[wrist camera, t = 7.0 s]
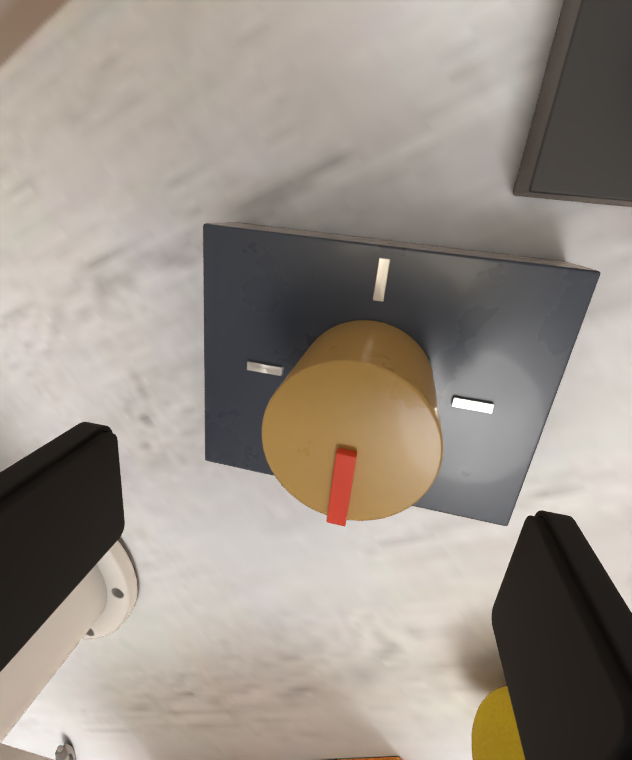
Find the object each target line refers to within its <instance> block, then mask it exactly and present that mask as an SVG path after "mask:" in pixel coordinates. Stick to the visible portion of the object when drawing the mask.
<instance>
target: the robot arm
mask: <svg viewBox="0 0 632 760" xmlns="http://www.w3.org/2000/svg"><path fill="white" fill-rule="evenodd" d="M124 524H125V521H124V510H123V498H122V487H121V475H120V464H119V452H118V441H117V437H116V435H115V434H113V433H112V430H111V429H110V427H108V426H104V425H99V424H94V423H89V422H82V423H80V424H78V425H76V426H75V427H73V428H71V429H70V430H68V431H66V432H65V433H63V434H62V435H60V436H58V437H57V438H55V439H54V440H52V441H50V442H49V443H47V444H45V445H44V446H42V447H41V448H39V449H37V450H36V451H34V452H33V453H31V454H29V455H28V456H26V457H24V458H23V459H21V460H20V461H18V462H16V463H15V464H13V465H12V466H10V467H8V468H7V469H5V470H3V471H2V472H0V760H53V759H50V758H47V757H43V756H40V755H37V754H34V753H30V752H27V751H24V750H21V749H18V748H14V747H11V746H8V745H5V744H1V742H2V741H3V740H4V738H5V737H6V736H7V735H8V733H9V732H10V731H11V729H12V728H13V727H14V726H15V724H16V723H17V722H18V720H19V719H20V718H21V717H22V715H23V714H24V713H25V711H26V710H27V709H28V708H29V706H30V705H31V704H32V702H33V701H34V700H35V699H36V697H37V696H38V695H39V693H40V692H41V691H42V689H43V688H44V687H45V686H46V684H47V683H48V682H49V680H50V679H51V678H52V677H53V675H54V674H55V673H56V671H57V670H58V669H59V668H60V666H61V665H62V664H63V662H64V661H65V660H66V659H67V657H68V656H69V655H70V653H71V652H72V651H73V650H74V648H75V647H76V646H77V644H78V643H79V642H80V641H81V639H93V638H100V637H103V636H106V635H109V634H111V633H113V632H114V631H116V630H117V629H119V627H120V626H121V625H122V624H123V623H124V621H125V620H126V619H127V617H128V616H129V614H130V613H131V611H132V609H133V608H134V606H135V603H136V598H137V580H136V576H135V572H134V569H133V566H132V563H131V561H130V559H129V557H128V555H127V553H126V551H125V550H124V548H123V547H122V545H121V544H120V542H119V541H118V539H119V538H120V536H121V534H122V532H123V530H124ZM492 626H493V630H494V634H495V639H496V643H497V647H498V651H499V655H500V659H501V663H502V667H503V671H504V675H505V679H506V683H507V687H508V692H509V696H510V700H511V704H512V708H513V712H514V716H515V720H516V724H517V728H518V732H519V736H520V741H521V745H522V749H523V753H524V757H525V760H632V613H631V611H630V610H629V608H628V606H627V605H626V603H625V602H624V600H623V598H622V597H621V595H620V593H619V592H618V590H617V589H616V587H615V585H614V584H613V582H612V580H611V579H610V577H609V576H608V574H607V572H606V571H605V569H604V567H603V566H602V564H601V563H600V561H599V559H598V558H597V556H596V554H595V553H594V551H593V550H592V548H591V546H590V545H589V543H588V541H587V540H586V538H585V537H584V535H583V533H582V532H581V530H580V528H579V527H578V525H577V523H576V522H575V520H574V519H573V518H572V517H570V516H567V515H562V514H557V513H551V512H546V511H538V512H537V513H536V515H535V516H528V517H527V518H526V520H525V522H524V525H523V527H522V530H521V533H520V535H519V538H518V541H517V544H516V546H515V549H514V552H513V554H512V557H511V560H510V562H509V565H508V568H507V571H506V573H505V576H504V579H503V581H502V584H501V587H500V589H499V592H498V595H497V598H496V600H495V603H494V606H493V609H492Z"/></svg>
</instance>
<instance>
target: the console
mask: <svg viewBox="0 0 632 760" xmlns="http://www.w3.org/2000/svg"><path fill="white" fill-rule="evenodd" d="M203 256H204V369H205V460H206V461H210V462H215V463H219V464H224V465H228V466H233V467H238V468H242V469H247V470H251V471H256V472H260V473H265V474H270V475H274V473H273V472H272V470H271V468H270V466H269V464H268V462H267V460H266V456H265V453H264V450H263V443H262V422H263V417H264V413H265V410H266V407H267V405H268V403H269V401H270V399H271V397H272V396H273V394H274V393H275V391H276V390H277V389H278V387H279V386H280V385H281V383H282V382H283V381H284V379H285V378H286V377H287V376H288V374H289V373H290V372H291V370H292V369H293V368H294V366H295V365H296V364H297V363H298V361H299V360H300V359H301V357H302V356H303V355H304V353H305V352H306V351H307V350H308V348H309V347H310V346H311V344H312V343H313V342H314V341H315V340H316V339H317V338H318V337H319V336H320V335H322V334H323V333H324V332H326V331H327V330H329V329H330V328H333V327H335V326H337V325H339V324H342V323H346V322H350V321H356V320H370V321H378V322H382V323H386V324H389V325H391V326H394V327H396V328H398V329H400V330H402V331H403V332H405V333H406V334H407V335H409V336H410V337H411V338H412V339H413V340H415V341H416V342H417V344H418V345H419V346H420V347H421V348H422V350H423V351H424V353H425V354H426V356H427V358H428V360H429V362H430V365H431V368H432V372H433V377H434V384H435V390H436V397H437V403H438V410H439V417H440V423H441V430H442V437H443V458H442V463H441V467H440V470H439V473H438V475H437V477H436V479H435V481H434V483H433V484H432V486H431V487H430V488H429V490H428V491H427V492H426V493H425V494H424V495H423V496H422V497H421V498H420V499H419V500H418V501H417V502H416V503H414V504H413V505H412V506H416V507H421V508H425V509H430V510H434V511H439V512H444V513H448V514H453V515H457V516H462V517H466V518H471V519H476V520H480V521H485V522H489V523H494V524H499V525H503V526H507V525H508V523H509V520H510V518H511V515H512V512H513V510H514V507H515V504H516V501H517V499H518V496H519V493H520V491H521V488H522V485H523V482H524V480H525V477H526V474H527V472H528V469H529V466H530V463H531V461H532V458H533V455H534V453H535V450H536V447H537V444H538V442H539V439H540V436H541V434H542V431H543V428H544V425H545V423H546V420H547V417H548V415H549V412H550V409H551V406H552V404H553V401H554V398H555V396H556V393H557V390H558V387H559V385H560V382H561V379H562V377H563V374H564V371H565V368H566V366H567V363H568V360H569V358H570V355H571V352H572V349H573V347H574V344H575V341H576V339H577V336H578V333H579V330H580V328H581V325H582V322H583V320H584V317H585V314H586V311H587V309H588V306H589V303H590V301H591V298H592V295H593V292H594V290H595V287H596V284H597V282H598V279H599V276H600V272H599V271H597V270H593V269H590V268H586V267H583V266H579V265H576V264H572V263H569V262H565V261H556V260H548V259H540V258H531V257H523V256H514V255H506V254H497V253H489V252H481V251H472V250H464V249H455V248H447V247H439V246H430V245H422V244H413V243H405V242H396V241H388V240H380V239H371V238H363V237H354V236H346V235H338V234H329V233H321V232H312V231H304V230H295V229H287V228H279V227H270V226H262V225H253V224H245V223H206V224H204V225H203ZM274 476H275V475H274Z"/></svg>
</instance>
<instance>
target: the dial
mask: <svg viewBox="0 0 632 760" xmlns="http://www.w3.org/2000/svg"><path fill="white" fill-rule="evenodd" d="M262 443H263V450H264V453H265V456H266V460H267V462H268V464H269V466H270V468H271V470H272V472H273V473H274V475H275V477H276V478H277V480H278V481H279V482H280V483H281V485H282V486H283V487H284V488H285V489H286V490H287V491H288V492H289V493H290V494H291V495H292V496H294V497H295V498H296V499H297V500H299V501H300V502H302V503H303V504H305V505H306V506H308V507H310V508H312V509H314V510H316V511H318V512H320V513H323V514H325V515H327V522H328V523H332V524H337V525H341V526H345V525H346V520H357V521H363V520H375V519H381V518H385V517H389V516H392V515H394V514H397V513H399V512H402V511H403V510H405V509H407V508H409V507H410V506H412V505H413V504H414V503H416V502H417V501H418V500H419V499H420V498H421V497H422V496H423V495H424V494H425V493H426V492H427V491H428V490H429V488H430V487H431V486H432V484H433V483H434V481H435V479H436V477H437V475H438V473H439V470H440V467H441V463H442V458H443V437H442V430H441V423H440V417H439V410H438V403H437V397H436V390H435V384H434V377H433V372H432V368H431V365H430V362H429V360H428V358H427V356H426V354H425V353H424V351H423V350H422V348H421V347H420V346H419V345H418V344H417V342H416V341H415V340H413V339H412V338H411V337H410V336H409V335H407V334H406V333H405V332H403V331H402V330H400V329H398V328H396V327H394V326H391V325H389V324H386V323H382V322H378V321H370V320H356V321H350V322H346V323H342V324H339V325H337V326H335V327H333V328H330V329H329V330H327V331H326V332H324V333H323V334H322V335H320V336H319V337H318V338H317V339H316V340H315V341H314V342H313V343H312V344H311V346H310V347H309V348H308V350H307V351H306V352H305V353H304V355H303V356H302V357H301V359H300V360H299V361H298V363H297V364H296V365H295V366H294V368H293V369H292V370H291V372H290V373H289V374H288V376H287V377H286V378H285V379H284V381H283V382H282V383H281V385H280V386H279V387H278V389H277V390H276V391H275V393H274V394H273V396H272V397H271V399H270V401H269V403H268V405H267V407H266V410H265V413H264V417H263V422H262Z"/></svg>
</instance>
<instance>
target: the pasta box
mask: <svg viewBox="0 0 632 760" xmlns="http://www.w3.org/2000/svg"><path fill="white" fill-rule="evenodd" d="M339 760H401V759H400V757H384V758H361V759H339Z"/></svg>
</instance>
